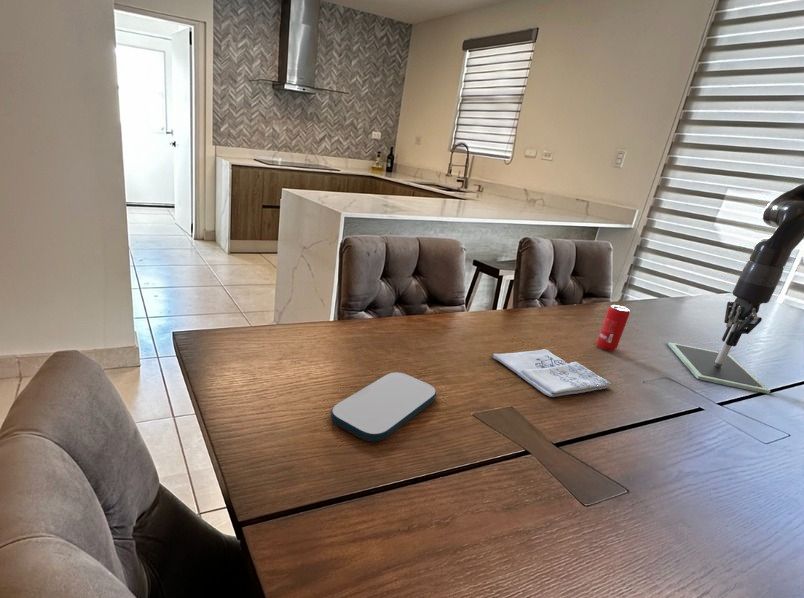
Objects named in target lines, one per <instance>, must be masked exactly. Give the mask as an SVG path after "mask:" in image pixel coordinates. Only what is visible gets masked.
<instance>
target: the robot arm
mask: <svg viewBox="0 0 804 598" xmlns="http://www.w3.org/2000/svg"><path fill="white" fill-rule="evenodd" d="M762 220H763V221H762V222H763V223H764V224H766V225H767V226H770V227H772V228H775V230H774V232H773V233H772V235H771V236H770V237H763V238H760V239H759V240H758V241H757V242H756V243H755V245H754V247H753V250H752V252H751V254H750V256H749V258H748V261H747V262H746V264H745V265H744V266H743V268H742V270H741V272H740V275H739V277H738V280H737V282H736V284H735V286H734V288H733V290H732V295H733V296H734V297H736V298H735V299H734V301H727V303H726V307H725V308H726V309H725V314H724V322H723V323H724V324H726V325H725V327H726V329H725V331H724V333H723V336H722V338H721V341H722V342H723V343H724V342H725V339H726V337H727V335H728V333H729V331H730V329H731V327H732V324H734V326H733V328H732V331H731V332H730V334H729V337H728V339H727V341H726V344H727V345H729V346H732V347H736V346H737V345H738V343H739V340H740V338H741V336H742V335H744V334H745V335H749V334H750V333H751V332H753V330H754V329H755V328H756V327H757V326H758V325H759V324H760V323H761V322H762V321H763V317H759V316H758V313H759V311H760V307H761V305H762V304H768V303H769V302H770V301H771V298H772V296H773V294H774V292H775V290H776V288H777V286H778V284H779V282H780V280H781V278H782V276H783V274H784V273H783V272H784V269H785V267H786V264H787V263H788V261H789V259H790V257H791V254H792V252H793V251H794V249H796V247H797V246H799V244H800V243H801V242H802V241H803V239H804V182H803V183H801V184H799V185H797V186H795V187H793V188H791V189H789V190H787V191H786V192H783V193H781V194H780V195H778V196H777V197H775V198H773V200H771V201H770V202H769V203H768V204H767V205H766V207H765V208H764V210H763V211H762ZM738 325H739V326H738Z"/></svg>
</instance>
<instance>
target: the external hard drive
mask: <svg viewBox="0 0 804 598" xmlns="http://www.w3.org/2000/svg"><path fill="white" fill-rule="evenodd" d="M436 396H437V390H436V388H435V387H434V386H433V385H431V384H429V383H427V382H425V381H423V380H421V379H419V378H416V377H414V376H412V375H409V374H407V373H404V372H400V371H395V372H389V373H387V374H385V375H383V376H381V377H380V378H378V379H376V380H375V381H373V382H371V383H369V384H368V385H365V386H364V387H363V388H361V389H359V390H357V391H356V392H354V393H352V394H351V395H349V396H347V397H345V398H344V399H342V400H341V401H339V402H337V403H336V404H335V405H333V407H332V408H331V411H330V419H331V421H332V423H333V424H335V425H336V426H337V427H339V428H340V429H341V428H342V429H343V430H345V431H346V432H348V433H351V434H352V435H353V436H356V437H358V438H359V439H361V440H363V441H366V442H371V443H373V442H380V441H383V440H385V439H387V438H388V437H389V436H391V435H393V433H395V432H396V431H397V430H399V429H400V428H401V427H402V426H404V425H405V424H406V423H408V422H409V421H410V420H411V419H413V418H414V417H415V416H417V415H418V414H420V413H421V412H422V411H424V410H425V409H426V408H427V407H429V406H430V405H431V404H432V403H433V402H434V401H435V400H436Z"/></svg>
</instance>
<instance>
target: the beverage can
mask: <svg viewBox="0 0 804 598" xmlns="http://www.w3.org/2000/svg"><path fill="white" fill-rule="evenodd" d="M629 316H630V309H629V308H628V307H626V306H623V305H618V304H610V307H608V309H607V312H606V315H605V318H604V321H603V324H602V326H601V329H600V332H599V335H598V337H597V340H596V343H597V347H598V348H599V349H601V350H604V351H608V352H614V351H615V350H616V349H617V348H618V346H619V343H620V341H621V338H622V335H623V332H624V330H625V327H626V325H627V322H628V318H629Z"/></svg>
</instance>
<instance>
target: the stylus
mask: <svg viewBox="0 0 804 598" xmlns="http://www.w3.org/2000/svg"><path fill="white" fill-rule="evenodd" d="M733 326H734V324H732V327H731V329H730V331H729V333H728V335H727V337H726V339H725V342H723V344H722V346H721V348H720V350H719V351H718V352H719V354H718V357H717V359H716V361H715V362H716V363H715V366H716V367H721V366H722V365H723V363H724V361H725V359H726V357H727V355H728V354H730V351H731V349H732V347H733V346H729V345H727V344H726V341H727V339H728V337H729V334H730V332H731V331H732V328H733ZM738 326H739V325H738Z"/></svg>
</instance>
